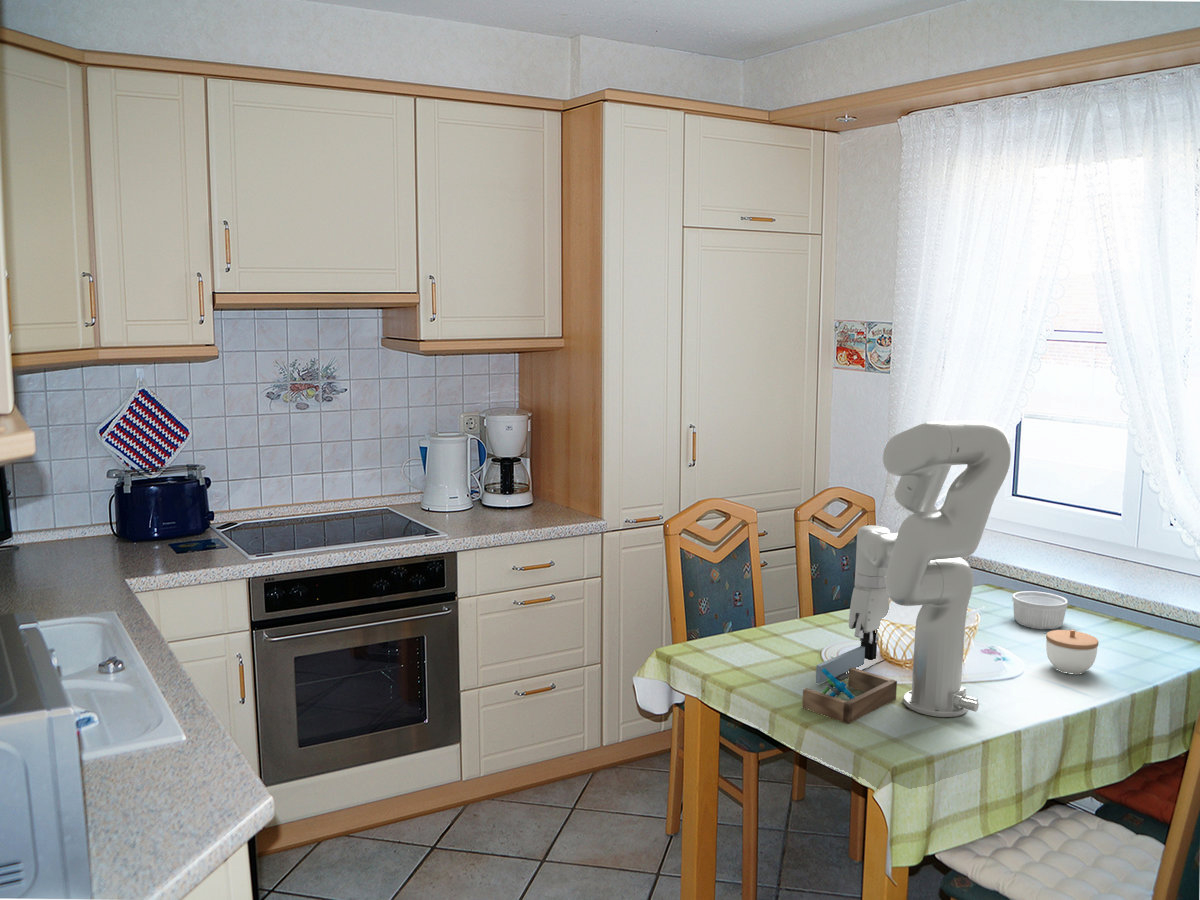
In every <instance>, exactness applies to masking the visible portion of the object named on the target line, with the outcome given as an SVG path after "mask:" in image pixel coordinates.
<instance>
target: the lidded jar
mask: <svg viewBox="0 0 1200 900" xmlns="http://www.w3.org/2000/svg"><path fill="white" fill-rule="evenodd" d="M1045 638H1046V641H1045V644H1046V645H1045V647H1046V654H1047V655H1046V656H1047V658H1048V660H1049V663H1051V665H1052V666H1053V667H1054V668H1056V669H1058V670H1060V671H1062V672H1067V673H1073V674H1080V673H1084V674H1085V673H1086V672H1087V671H1088V670H1089V669H1090V668H1091V667H1093V665H1094V663H1095V660H1096V659H1097V654H1098V648H1099V647H1098V646H1099V639H1098V638H1096V637H1095V636H1093V635H1091V634H1088V633H1086V632H1082V631H1077V630H1075V629H1070V630H1069V629H1053V630H1050V631H1048V632H1047V633H1046V635H1045ZM1056 669H1055V670H1056ZM1062 672H1061V673H1062Z"/></svg>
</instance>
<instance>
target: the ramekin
mask: <svg viewBox="0 0 1200 900" xmlns="http://www.w3.org/2000/svg"><path fill="white" fill-rule="evenodd" d="M1011 601H1012V602H1013V604H1012V605H1013V616H1014V617H1013V618H1014V620H1015V621H1016V623H1017V624H1019V625H1020V626H1023V625H1024V626H1023V627H1026V626H1027V628H1029V627H1031V629H1035V628H1036V630H1044V629H1051V630H1056V629H1055V628H1057V629H1059V628H1060V627H1062V626H1063V623H1064V621H1065V616H1066V611H1067V607H1068V604H1069V602H1068V599H1067V598H1066V597H1063V596H1060V595H1057V594H1055V593H1049V592H1044V591H1043V592H1042V591H1034V590H1033V591H1032V590H1031V591H1030V590H1028V591H1025V590H1024V591H1017V592H1015V593H1013V594H1012V599H1011ZM1058 627H1059V628H1058Z"/></svg>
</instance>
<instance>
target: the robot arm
mask: <svg viewBox="0 0 1200 900" xmlns="http://www.w3.org/2000/svg"><path fill="white" fill-rule="evenodd" d="M882 453H883V455H882V462H883V465H884V468H885V470H886V471H887V472H888V473H889V474H890V475H891V476H895V477H900V478H899V480H898V483H897V485H896V487H895V490H894V498H895V501H896V502H897V503H898V505H900V506H901V507H902V508H903V509H905V510H906V511H908V512H910V513H912V514H910V515H909V516H907V517H905V518H904V520H903V521H902V522H901V524H900V526H899V528H898V531H897V532H891V530H890V529H889V528H888V527H885V526H882V525H873V524H872V525H871V524H870V525H869V524H868V525H863V526H860V527H859V528H858V530H857V533H856V551H855V552H856V553H855V572H854V573H855V574H854V575H855V576H854V586H853V590H852V595H851V598H850V599H851V600H850V605H849V606H850V607H849V614H848V628H849V629H851V630H854V629H855V630H854V634H853V635H854V637H855V638H858V639H859V641H860V646H863V647H865V659H868V660H873V659H876V656H877V652H878V651H877V649H878V646H877V645H878V641H879V639H880V638H879V637H880V634H879V635H878V630H877V629H879V626H880V621H881V620H882V618H884V617H885V616H886V615H887V613H888V610H889V611H890V600H891V601H892V602H893V603H895V604H897V605H900V606H904V607H905V606H906V607H912V606H921V607H920V609H919V611H918V613H917V616H916V620H915V629H914V630H915V631H914V644H913V645H914V646H913V663H912V678H911V679H912V680H911V690H909V691H907V692H905V693H904V695H903V699H902V701H903V703H904V705H905V706H906V707H907V708H908V709H910V710H911V711H914V712H916V713H919V714H922V715H927V716H929V717H930V716H931V717H937V718H953V717H955V718H956V717H959V716H962V715H965V713H967V711H968V710H969V711H972V712H975V713H976V712H978V710H979V700H978V698H977V697H973V696H968V695H967V694H966V693H967V692H966V690H967V688H966V687H965V686H962V677H963V661H964V648H965V647H964V645H965V635H966V621H967V620H966V619H967V611H968V607H969V603H970V599H971V595H972V592H973V589H974V588H973V587H974V582H975V581H974V579H975V577H974V573H973V569H972V568H971V567H972V566H970V563H968V562H967V561H966V560H965V559H963V558H967V557H970V556H971V555H973V554H974V553H975V552H976V551H977V549H978V546H979V544H980V542H981V539H982V536H983V535H984V531H985V528H986V525H987V522H988V520H989V519H988V518H989V516H990V513H991V511H992V507H993V504H994V501H995V498H996V497H997V494H998V493H999V491H1000V489H1001V487H1002V485H1003V483H1004V481H1005V479H1006V477H1007V474H1008V473H1009V469H1010V467H1011V465H1010V464H1011V455H1012V454H1011V453H1012V452H1011V444H1010V440H1009V439H1008V435H1007V434H1006V432H1005V431H1004V429H1003V428H1002V427H1001V426H998V424H996V423H994V422H991V421H990V422H989V421H984V420H951V421H949V420H948V421H930V422H929V421H927V422H924V423H921V424H918V425H915V426H913V427H911V428H909V429H905V430H903V431H901V432H899V433H897V434H895V435H893V436H892V437H891V438H890V439H889V440H888V441H887V442H886V444H885V446H884V449H883V452H882ZM957 465H958V466H962V465H967V466H966V468H965V469H964V470H963V471H962V472H961V473H959V475H958V476H957V477H956V478H955V479H954V480H953V481H952V482H951V485H949V488H948V490H947V492H946V496H945V499H944V501H943V505H942V506H941V508H939V509H937V507H936V502H937V500H938V499H939V496H940V494H941V491H942V489H943V487H944V484H945V481H946V479H947V476H948V475H949V472H950V470H951V467H952V466H957ZM875 630H876V633H875ZM865 659H864V660H865Z"/></svg>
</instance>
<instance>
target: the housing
mask: <svg viewBox="0 0 1200 900" xmlns="http://www.w3.org/2000/svg"><path fill="white" fill-rule="evenodd" d="M846 677H847V678H848V681H847V687H849V688H852V689H855V690H859V691H861V692H864V693H861V694H859V695H857V696H855V698H853V699H851V700H850V699H849V700H844V699H841V698H839V697H836V696H835V697H832V696H829V695H830V694H827V693H826V694H823V693H822V692H819V691H818V690H817V691H816V690H814V689H810V688H808V687H806V688H804V689H803V690H802V707H803V708H805V709H804V710H806V709H809V710H811V711H810V712H812V711H814V712H813V713H815V712H816V713H815V714H818V713H819V714H818V715H820V714H822V715H821V716H823V715H825V716H824V717H826V716H828V717H827V718H829V717H830V718H829V719H832V718H833V719H832V720H836V721H838V720H839V721H838V722H841V723H844V724H847V725H849V724H852V723H853V722H855V721H857V720H859V719H861V718H863V717H865V716H867V715H868V714H871V713H873V712H874V711H876V710H879V709H880V708H882V707H884V706H886V705H888V704H891V702H893V701H895V700H897V689H898V688H897V687H898V686H897V685H898V681H897V680H894V679H892V678H889V677H884V676H883V675H882V676H881V675H879V674H875V673H871V672H868V671H865V670H863V671H862V670H859V669H856V668H850V669H849V673H848V672H847V674H846V672H845V673H843V674H841V675H839V676H837V677H835V678H836V679H837V680H838V681H843V680H845V679H847V678H846ZM803 708H802V709H803ZM809 710H808V711H809Z"/></svg>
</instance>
